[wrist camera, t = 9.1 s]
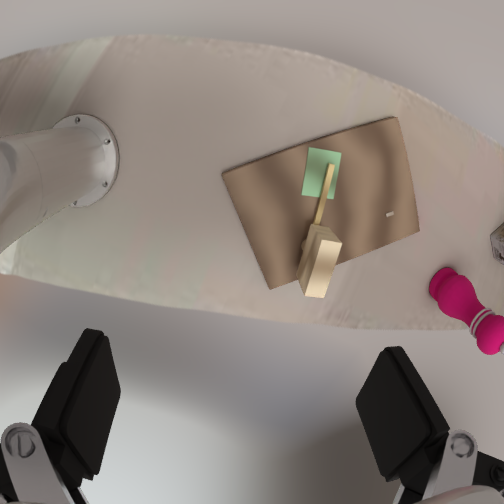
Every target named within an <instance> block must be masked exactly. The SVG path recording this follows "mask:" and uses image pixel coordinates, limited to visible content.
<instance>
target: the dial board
mask: <svg viewBox="0 0 504 504" xmlns="http://www.w3.org/2000/svg"><path fill="white" fill-rule="evenodd" d="M328 163H330V164H334V165H335V168H334V172H333V175H332V179H331V183H330V187H329V191H328V195H327V199H326V202H325V206H324V210H323V213H322V217H321V221H320V224H319V226H324V227H329V228H330V229H331V230H332V232H333V233H334V234H335V235H336V236H337V238H338V239H339V240H340V241H341V242H342V246H341V249H340V252H339V255H338V258H337V261H336V264H335V265H338V264H340V263H343V262H345V261H348V260H350V259H353V258H355V257H358V256H360V255H363V254H365V253H368V252H370V251H373V250H375V249H378V248H380V247H383V246H385V245H388V244H390V243H392V242H395V241H397V240H400V239H402V238H405V237H407V236H409V235H412V234H414V233H416V232H419V231H420V229H419V221H418V214H417V207H416V200H415V194H414V188H413V183H412V177H411V172H410V167H409V162H408V158H407V153H406V149H405V144H404V140H403V136H402V132H401V128H400V125H399V121H398V117H390V118H386V119H382V120H379V121H375V122H371V123H368V124H364V125H361V126H357V127H354V128H350V129H347V130H344V131H340V132H337V133H334V134H330V135H327V136H324V137H321V138H318V139H315V140H312V141H309V142H306V143H303V144H300V145H297V146H294V147H291V148H288V149H285V150H282V151H279V152H277V153H274V154H271V155H268V156H266V157H263V158H260V159H257V160H255V161H252V162H249V163H247V164H244V165H242V166H239V167H237V168H234V169H231V170H229V171H226V172H224V173H222V177H223V180H224V182H225V184H226V187H227V189H228V192H229V194H230V196H231V199H232V201H233V204H234V206H235V208H236V211H237V213H238V215H239V218H240V220H241V223H242V225H243V227H244V230H245V232H246V235H247V237H248V239H249V242H250V244H251V246H252V249H253V251H254V254H255V256H256V258H257V261H258V263H259V266H260V268H261V270H262V273H263V275H264V277H265V280H266V282H267V285H268V287H269V289H270V290H271V289H273V288H276V287H279V286H282V285H284V284H287V283H290V282H293V281H295V280H298V278H297V275H296V274H297V271H298V267H299V264H300V261H301V257H302V254H303V250H302V247H301V245H302V242H303V241H304V240H305V239H307V236H308V232H309V229H310V225H311V224H313V221H314V218H315V214H316V210H317V206H318V203H319V199H320V195H321V191H322V187H323V183H324V179H325V175H326V171H327V167H328Z"/></svg>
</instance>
